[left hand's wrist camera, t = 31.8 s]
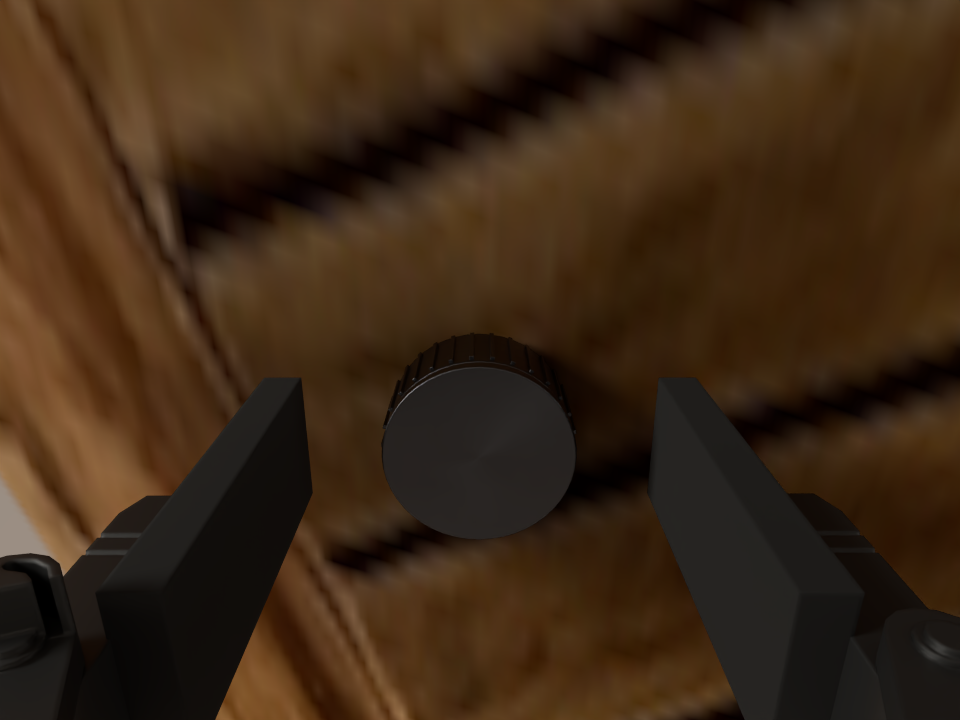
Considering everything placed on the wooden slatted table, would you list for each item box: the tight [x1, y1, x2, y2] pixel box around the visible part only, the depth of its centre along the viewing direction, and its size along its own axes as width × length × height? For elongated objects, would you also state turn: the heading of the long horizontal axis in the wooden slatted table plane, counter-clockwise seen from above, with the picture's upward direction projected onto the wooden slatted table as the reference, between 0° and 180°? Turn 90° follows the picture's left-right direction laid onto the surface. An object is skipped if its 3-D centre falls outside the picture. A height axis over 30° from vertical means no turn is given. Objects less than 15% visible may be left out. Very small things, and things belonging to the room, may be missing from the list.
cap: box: [381, 333, 577, 539], centre depth 15 cm, size 4×4×2 cm
